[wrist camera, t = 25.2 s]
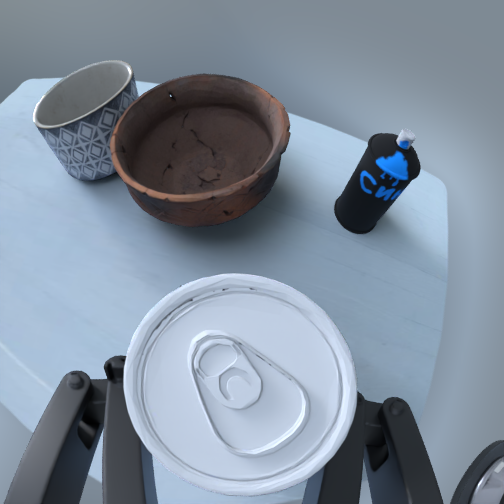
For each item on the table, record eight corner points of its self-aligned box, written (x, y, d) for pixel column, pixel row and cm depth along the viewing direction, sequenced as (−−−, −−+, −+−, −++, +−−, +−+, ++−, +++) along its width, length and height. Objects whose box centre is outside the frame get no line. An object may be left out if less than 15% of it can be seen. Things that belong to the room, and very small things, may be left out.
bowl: (109, 191, 46) (78, 134, 32) (206, 119, 54) (203, 59, 40) (203, 284, 41) (188, 239, 27) (304, 184, 49) (327, 121, 35)
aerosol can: (337, 187, 49) (379, 103, 31) (378, 203, 49) (431, 129, 30) (329, 224, 46) (379, 141, 28) (373, 240, 45) (438, 169, 27)
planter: (89, 205, 45) (48, 145, 30) (56, 158, 49) (24, 106, 34) (168, 144, 51) (154, 75, 36) (122, 109, 55) (105, 53, 40)
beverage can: (261, 420, 18) (320, 517, 4) (187, 396, 18) (91, 448, 5) (283, 350, 20) (385, 307, 6) (211, 327, 20) (167, 238, 7)
